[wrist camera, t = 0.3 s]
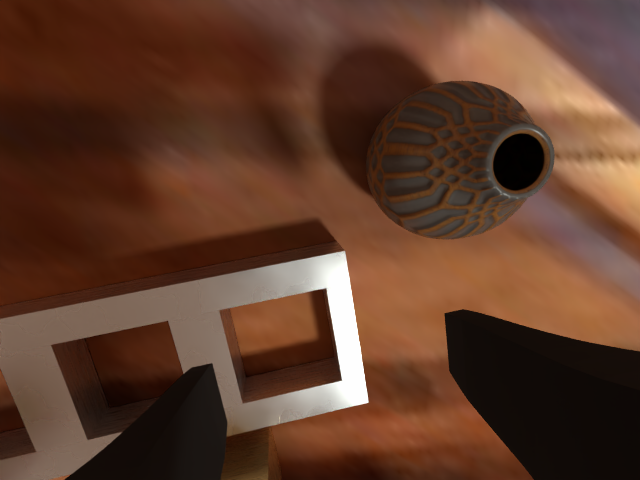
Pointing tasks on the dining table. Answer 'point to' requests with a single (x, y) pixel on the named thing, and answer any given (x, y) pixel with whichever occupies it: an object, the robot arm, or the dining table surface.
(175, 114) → the dining table surface
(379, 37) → the dining table surface
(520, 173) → the vase
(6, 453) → the white slotted frame
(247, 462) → the block
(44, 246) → the dining table surface
